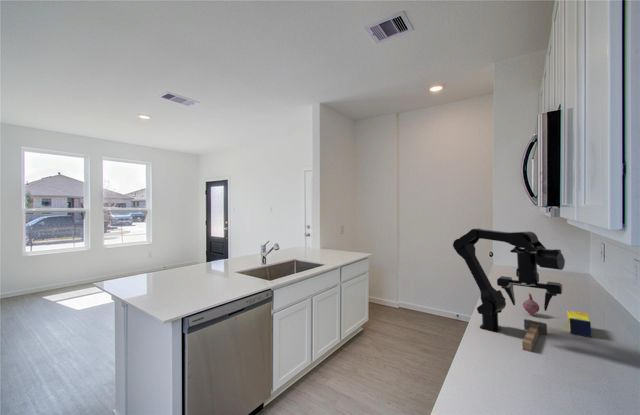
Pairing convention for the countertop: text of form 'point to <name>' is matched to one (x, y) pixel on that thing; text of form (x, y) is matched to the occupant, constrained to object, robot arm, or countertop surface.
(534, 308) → the vegetable
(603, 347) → the countertop surface
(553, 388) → the countertop surface
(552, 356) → the countertop surface
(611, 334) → the countertop surface
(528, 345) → the bar
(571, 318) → the supplement box
